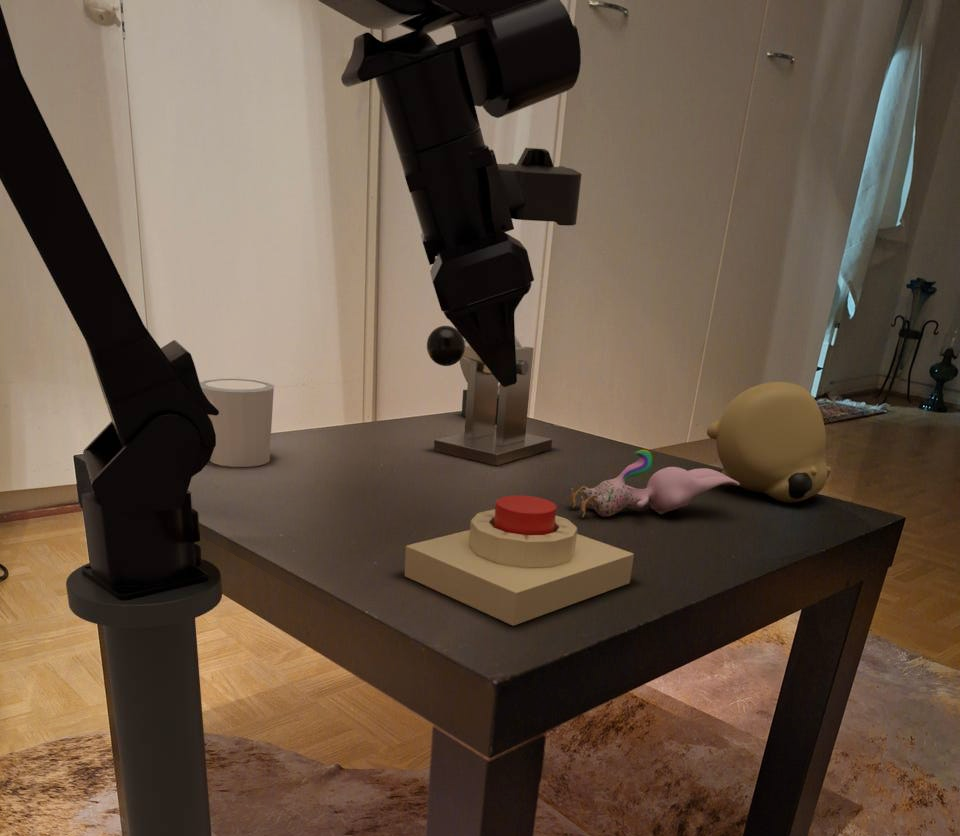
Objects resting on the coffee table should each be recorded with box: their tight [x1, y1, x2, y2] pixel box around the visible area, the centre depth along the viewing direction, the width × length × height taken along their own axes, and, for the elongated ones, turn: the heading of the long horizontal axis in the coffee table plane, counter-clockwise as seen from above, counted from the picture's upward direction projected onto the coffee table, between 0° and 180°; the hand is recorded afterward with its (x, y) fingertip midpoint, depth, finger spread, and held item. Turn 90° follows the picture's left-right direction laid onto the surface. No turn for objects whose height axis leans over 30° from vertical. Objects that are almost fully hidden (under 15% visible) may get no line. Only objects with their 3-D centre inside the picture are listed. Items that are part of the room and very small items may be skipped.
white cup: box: [199, 378, 275, 468], centre depth 81 cm, size 7×7×7 cm
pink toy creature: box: [569, 449, 740, 519], centre depth 75 cm, size 6×6×15 cm
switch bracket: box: [433, 346, 553, 467], centre depth 91 cm, size 11×8×11 cm
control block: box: [404, 508, 635, 627], centre depth 58 cm, size 12×10×4 cm
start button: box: [494, 494, 557, 535], centre depth 57 cm, size 4×4×2 cm
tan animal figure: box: [706, 381, 832, 504], centre depth 84 cm, size 10×12×11 cm
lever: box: [426, 325, 493, 375], centre depth 85 cm, size 13×4×4 cm, turn 145°
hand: (502, 366), depth 66 cm, fingers open, 9 cm apart
